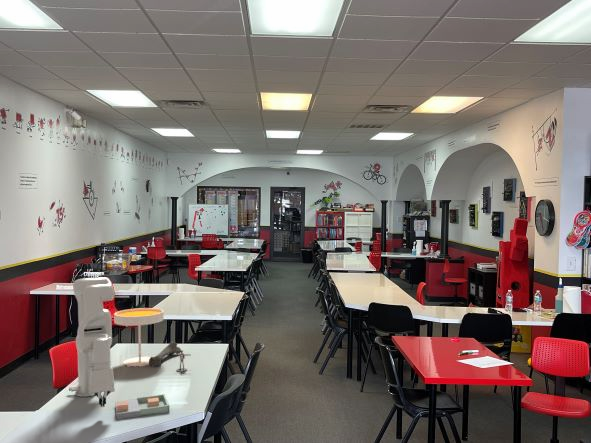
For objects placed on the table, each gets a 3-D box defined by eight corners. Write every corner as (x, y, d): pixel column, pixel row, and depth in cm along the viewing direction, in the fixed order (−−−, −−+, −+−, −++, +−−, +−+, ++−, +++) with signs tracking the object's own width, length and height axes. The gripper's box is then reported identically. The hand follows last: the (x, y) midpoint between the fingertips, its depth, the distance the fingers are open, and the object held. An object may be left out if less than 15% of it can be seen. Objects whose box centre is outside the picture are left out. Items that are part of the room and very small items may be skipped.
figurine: (192, 369, 315) (192, 349, 315) (188, 372, 309) (188, 352, 309) (174, 368, 317) (174, 348, 317) (170, 372, 311) (170, 351, 310)
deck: (117, 419, 239) (117, 413, 239) (115, 406, 255) (115, 401, 255) (140, 416, 242) (140, 410, 242) (137, 403, 258) (137, 398, 258)
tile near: (116, 411, 242) (116, 405, 242) (116, 407, 246) (116, 402, 246) (128, 409, 243) (128, 404, 243) (127, 406, 248) (127, 400, 248)
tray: (140, 416, 242) (140, 409, 242) (137, 403, 258) (137, 397, 258) (169, 411, 247) (169, 405, 247) (164, 400, 263) (164, 394, 263)
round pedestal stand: (173, 361, 332) (172, 311, 332) (129, 372, 312) (128, 318, 311) (149, 353, 353) (148, 306, 353) (106, 362, 333) (105, 312, 332)
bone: (168, 353, 353) (168, 339, 353) (182, 354, 351) (182, 340, 351) (144, 367, 322) (144, 352, 322) (159, 368, 320) (159, 353, 320)
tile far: (159, 400, 253) (159, 406, 253) (158, 397, 258) (158, 402, 258) (148, 402, 252) (148, 407, 252) (147, 398, 257) (147, 403, 257)
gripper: (84, 369, 235) (84, 411, 235) (119, 365, 241) (120, 406, 240) (84, 365, 242) (84, 405, 242) (118, 361, 248) (119, 401, 247)
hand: (102, 405), depth 241 cm, fingers closed
